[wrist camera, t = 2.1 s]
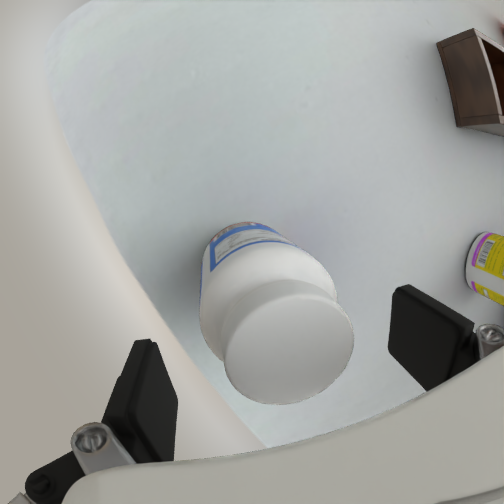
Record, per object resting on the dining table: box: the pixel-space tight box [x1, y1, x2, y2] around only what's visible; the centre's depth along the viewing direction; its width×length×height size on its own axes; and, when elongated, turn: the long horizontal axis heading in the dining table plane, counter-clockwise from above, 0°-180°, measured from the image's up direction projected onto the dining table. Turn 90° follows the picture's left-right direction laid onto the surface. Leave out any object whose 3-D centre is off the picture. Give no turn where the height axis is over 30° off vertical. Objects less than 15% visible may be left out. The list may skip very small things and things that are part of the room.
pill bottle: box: [199, 222, 354, 405], centre depth 14 cm, size 6×6×11 cm
